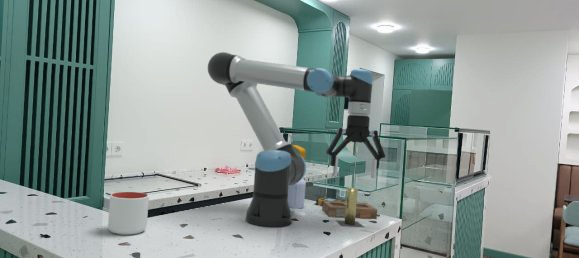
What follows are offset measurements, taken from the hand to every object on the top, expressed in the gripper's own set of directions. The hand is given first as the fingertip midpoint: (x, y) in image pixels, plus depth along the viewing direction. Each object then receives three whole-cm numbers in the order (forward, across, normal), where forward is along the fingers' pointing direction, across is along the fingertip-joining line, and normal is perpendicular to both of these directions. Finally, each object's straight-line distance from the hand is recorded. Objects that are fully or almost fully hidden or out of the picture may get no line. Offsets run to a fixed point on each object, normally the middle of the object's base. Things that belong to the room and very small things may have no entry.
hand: (354, 177), depth 141 cm
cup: (+16, -69, -18) cm, 73 cm away
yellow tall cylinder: (+16, 0, 0) cm, 16 cm away
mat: (+17, 0, 0) cm, 17 cm away
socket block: (+17, +4, +15) cm, 23 cm away
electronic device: (+17, +3, +29) cm, 34 cm away
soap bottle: (+17, -16, +26) cm, 35 cm away
